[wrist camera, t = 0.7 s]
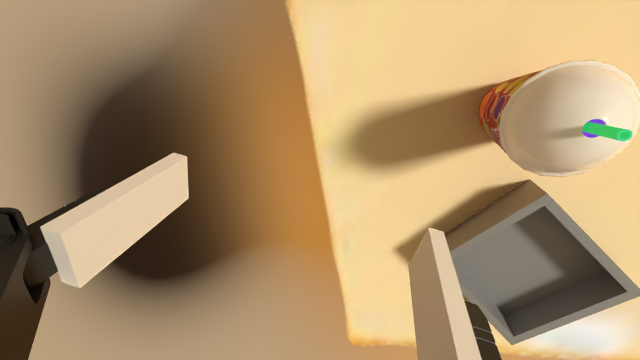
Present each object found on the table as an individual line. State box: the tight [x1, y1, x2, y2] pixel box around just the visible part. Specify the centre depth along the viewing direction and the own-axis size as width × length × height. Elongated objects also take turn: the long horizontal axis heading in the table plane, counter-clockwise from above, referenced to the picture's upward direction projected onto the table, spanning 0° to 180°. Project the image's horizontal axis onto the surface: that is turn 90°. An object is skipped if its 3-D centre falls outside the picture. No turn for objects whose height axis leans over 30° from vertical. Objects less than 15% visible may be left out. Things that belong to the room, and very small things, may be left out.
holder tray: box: [444, 180, 640, 345], centre depth 35 cm, size 15×15×5 cm
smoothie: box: [478, 60, 640, 177], centre depth 23 cm, size 8×8×20 cm
